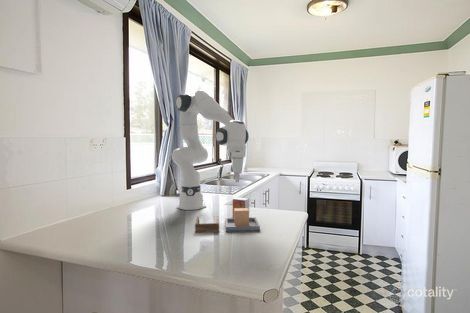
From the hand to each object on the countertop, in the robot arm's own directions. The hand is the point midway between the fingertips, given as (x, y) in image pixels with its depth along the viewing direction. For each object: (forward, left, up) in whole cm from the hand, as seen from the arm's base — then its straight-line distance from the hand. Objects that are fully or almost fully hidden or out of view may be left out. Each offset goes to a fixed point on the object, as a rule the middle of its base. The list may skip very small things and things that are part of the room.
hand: (236, 180), depth 146 cm
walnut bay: (+3, -15, -23) cm, 27 cm away
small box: (-15, +3, -23) cm, 28 cm away
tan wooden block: (+3, +2, -22) cm, 22 cm away
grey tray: (+3, +2, -23) cm, 23 cm away
